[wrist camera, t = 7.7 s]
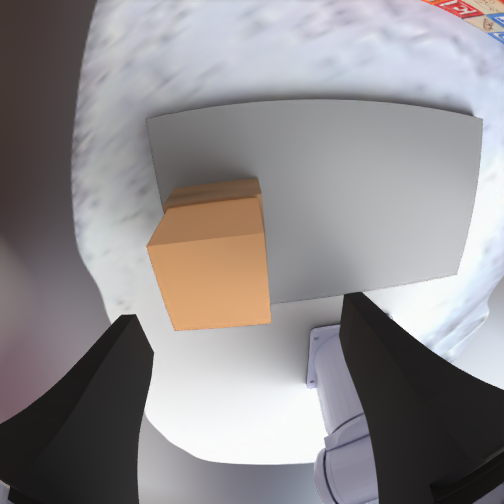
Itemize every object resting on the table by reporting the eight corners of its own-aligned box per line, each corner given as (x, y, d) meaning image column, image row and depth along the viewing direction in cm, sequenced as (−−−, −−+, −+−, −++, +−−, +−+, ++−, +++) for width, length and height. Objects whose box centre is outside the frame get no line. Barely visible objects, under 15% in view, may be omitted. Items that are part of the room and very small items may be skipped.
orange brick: (264, 273, 16) (271, 323, 13) (186, 281, 16) (174, 330, 13) (257, 197, 14) (264, 233, 10) (168, 208, 14) (146, 246, 10)
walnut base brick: (264, 251, 19) (268, 278, 16) (189, 259, 19) (182, 286, 16) (258, 177, 16) (261, 193, 14) (174, 188, 16) (162, 206, 14)
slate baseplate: (451, 268, 22) (456, 274, 21) (191, 302, 22) (189, 311, 21) (474, 116, 15) (482, 118, 14) (150, 117, 15) (146, 119, 14)
